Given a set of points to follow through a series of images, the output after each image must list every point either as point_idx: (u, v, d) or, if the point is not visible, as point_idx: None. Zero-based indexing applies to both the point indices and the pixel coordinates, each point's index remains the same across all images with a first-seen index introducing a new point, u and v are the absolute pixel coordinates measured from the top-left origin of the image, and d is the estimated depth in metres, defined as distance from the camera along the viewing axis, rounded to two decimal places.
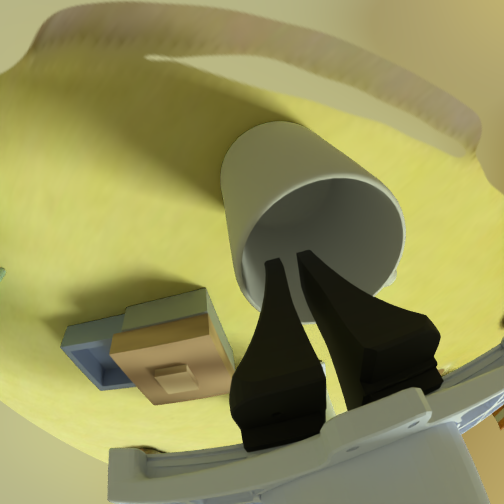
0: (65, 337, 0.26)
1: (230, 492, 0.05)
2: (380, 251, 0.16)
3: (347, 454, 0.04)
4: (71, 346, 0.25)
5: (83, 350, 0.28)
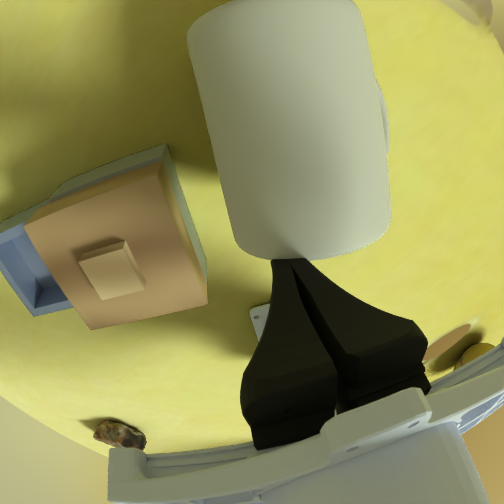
0: None
1: (230, 492, 0.05)
2: None
3: (347, 454, 0.04)
4: None
5: (14, 254, 0.20)
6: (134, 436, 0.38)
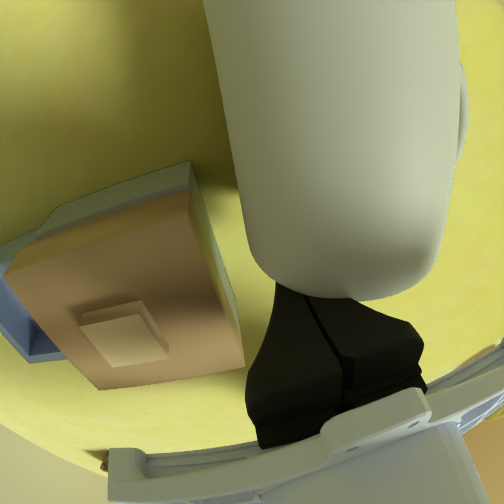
0: None
1: (230, 492, 0.05)
2: None
3: (347, 454, 0.04)
4: None
5: (0, 292, 0.15)
6: None
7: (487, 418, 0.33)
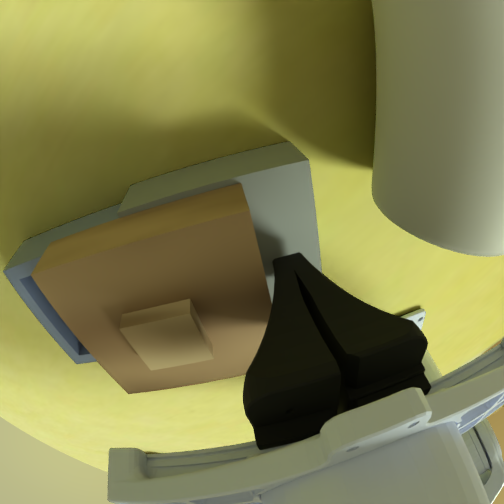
0: (15, 255, 0.13)
1: (230, 492, 0.05)
2: None
3: (347, 454, 0.04)
4: (20, 266, 0.12)
5: None
6: None
7: None
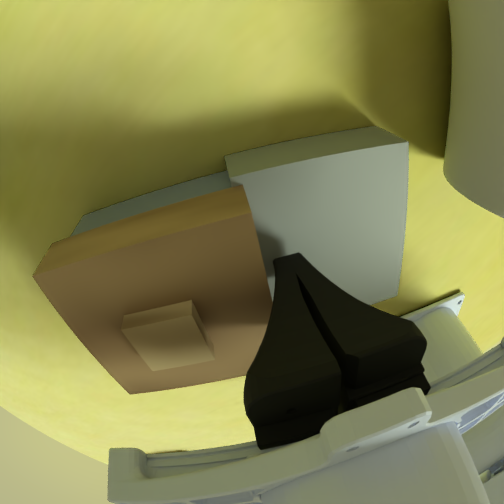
0: (77, 230, 0.13)
1: (230, 492, 0.05)
2: None
3: (347, 454, 0.04)
4: None
5: None
6: None
7: None
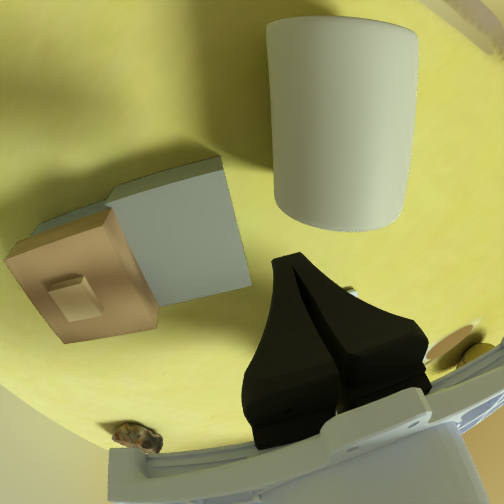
0: (33, 233, 0.20)
1: (230, 492, 0.05)
2: None
3: (347, 454, 0.04)
4: None
5: None
6: (152, 438, 0.40)
7: None
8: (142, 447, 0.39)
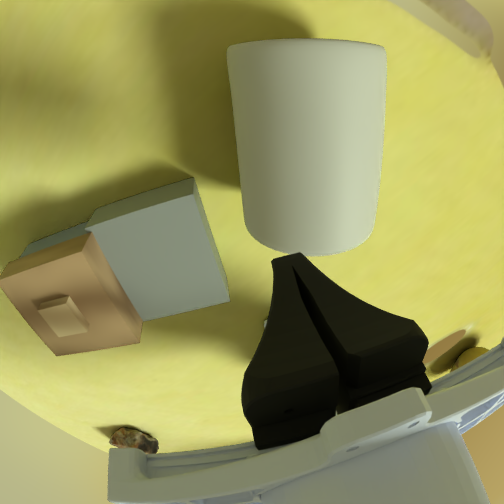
0: (23, 254, 0.20)
1: (230, 492, 0.05)
2: None
3: (347, 454, 0.04)
4: None
5: None
6: (148, 442, 0.41)
7: None
8: None
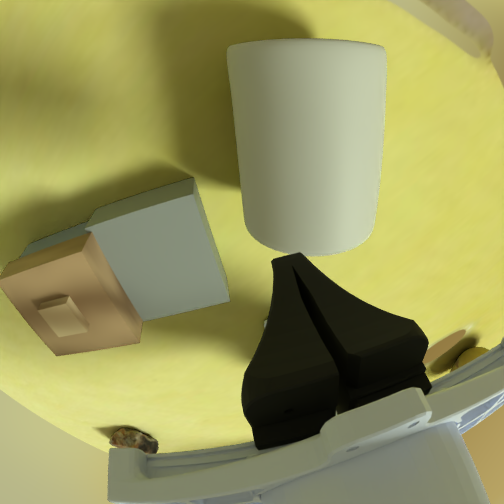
0: (23, 254, 0.20)
1: (230, 492, 0.05)
2: None
3: (347, 454, 0.04)
4: None
5: None
6: (148, 442, 0.42)
7: None
8: None
